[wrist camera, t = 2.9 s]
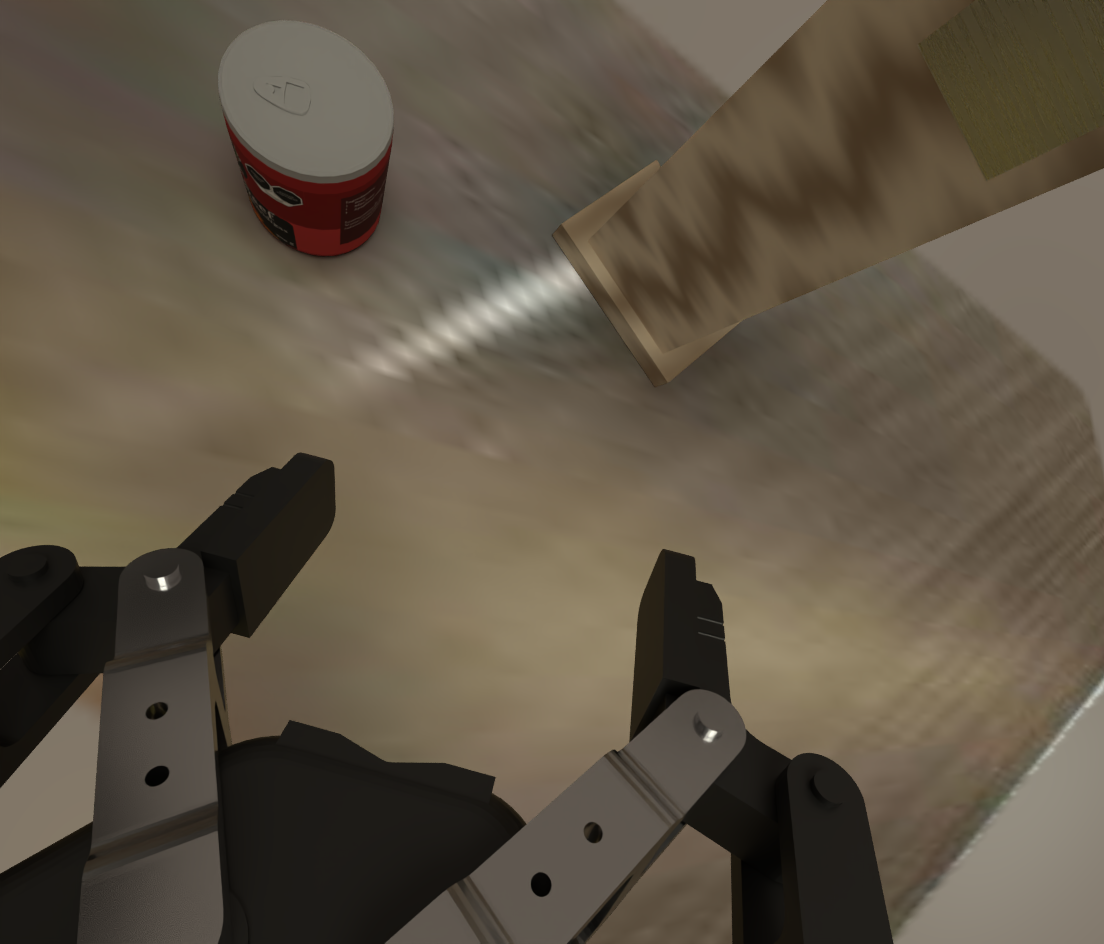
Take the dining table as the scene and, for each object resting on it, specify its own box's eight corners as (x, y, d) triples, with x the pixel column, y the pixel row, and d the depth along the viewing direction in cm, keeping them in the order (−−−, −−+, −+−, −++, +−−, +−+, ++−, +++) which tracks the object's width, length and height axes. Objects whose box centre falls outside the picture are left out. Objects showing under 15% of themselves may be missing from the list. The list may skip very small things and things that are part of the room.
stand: (552, 235, 44) (1050, -361, 13) (643, 172, 47) (1231, -438, 16) (654, 387, 47) (1271, 186, 16) (736, 319, 50) (1392, 36, 19)
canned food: (239, 143, 37) (200, 10, 27) (369, 145, 40) (379, 24, 30) (262, 264, 38) (233, 178, 27) (389, 257, 40) (407, 176, 30)
